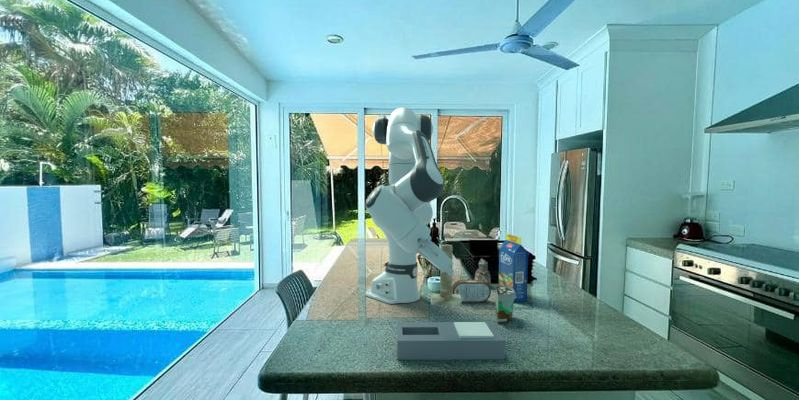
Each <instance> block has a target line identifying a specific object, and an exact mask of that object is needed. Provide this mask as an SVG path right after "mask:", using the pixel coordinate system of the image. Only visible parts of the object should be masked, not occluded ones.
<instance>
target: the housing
mask: <svg viewBox="0 0 799 400" xmlns="http://www.w3.org/2000/svg"><path fill="white" fill-rule="evenodd" d="M505 350H506V340H505V338H504V337H503V335H502V334H501V333H500V331H499V330H498V328H497V327H496V326H495V324H494V322H492V321H433V322H432V321H422V322H421V321H419V322H417V321H415V322H413V321H404V322H403V321H402V322H401V321H399V322H398V321H397V322H396V360H398V361H401V360H402V361H403V360H405V361H409V360H410V361H412V360H414V361H418V360H425V361H426V360H429V361H433V360H435V361H436V360H439V361H440V360H442V361H443V360H447V361H448V360H450V361H451V360H457V361H458V360H505V359H506V358H505V357H506V356H505V355H506V353H505Z"/></svg>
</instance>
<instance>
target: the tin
mask: <svg viewBox="0 0 799 400" xmlns="http://www.w3.org/2000/svg"><path fill="white" fill-rule="evenodd" d="M491 293H492V289H491V287H489V285H488V284H487V283H486V282H485V281H483V280H475V279H458V280H456V281H455V282H454V283H452V294H460V296H461V303H484V302H486V301H488V300H489V299H490V297H491Z"/></svg>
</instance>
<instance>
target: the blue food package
mask: <svg viewBox="0 0 799 400" xmlns="http://www.w3.org/2000/svg"><path fill="white" fill-rule="evenodd" d="M505 235H506V236H505V240H504V241H503V243H502V244H501V245H500V247H499V251H498V285H504V286H508V287H511V288H513V289H514V291H515V294H516V298H515V299H514V303H523V302H527V301H528V270H529V268H528V266H529V259H528V257H529V256H528V251H527V250H526V249H525V247H524V246H523V244H522V237H520V236H517V235H513V234H510V233H508V232H507V233H505Z"/></svg>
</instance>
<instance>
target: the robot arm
mask: <svg viewBox="0 0 799 400" xmlns="http://www.w3.org/2000/svg"><path fill="white" fill-rule="evenodd" d="M433 132H434V126H433V122H432V120H431V117H430V116H428V115H425V114H420V115H419V114H416V113H415V112H414V111H413V110H412V109H411V108H408V107H404V106H402V107H398V108H396V109H394V110H393V111H392V112H391V113H390V115H386V114H383V115H380V116H377V117H376V118H375V119H374V123H373V126H372V135H373V138H374V140H375V141H376V142H377V143H378V144H379V145H386V148H387V150H388V151H389V153H388V183H389V185H384V184H379V185H378V186H376V187H375V188H374V189H373V190H371V192H370V194H369V195H368V196H367V198H366V200H365V204H364V206H365V209H366V212H367V213H368V214H369V216H370V217H371V219H372V222H373V224H374V225H375V227H377V228H379V229H380V230H381V232H382V233H383V234H384V236H385V238H386V241H387V245H388V246H387V247H388V249H387V250H388V261H387V262H385V263H383V264H382V265H383V266H382V268H385V269H384V270H383V272H381V273H379V274H378V275H377V276H376V277H375V278H373V279H372V281H371V286H370V288H369V289H368V290H366V291H365V294H364V296H365V297H368V298H371V299H374V300H377V301H380V302H382V303H386V304H389V305H394V304H395V305H396V304H406V303H407V304H408V303H413V302H416V301H419V300H420V299H421V295H420V289H419V285H418V284H419V283H418V274H419V273H418V271H419V270H418V269H419V268H418V266H419V265H418V264H419V263H418V261H417V260H418V259H417V256H418V255H420V256H421V257H423V258H424V259H426V260H427V261H428V262H429V263H430V264H432V265H433V266H434V267H436V268H437V269H438V270H439V271H440V270H441V271H442V272H446V273H447V274H448V275H449V276H451V275H452V276H453V274H454V273H455V270H454V269H453V265H454V262H453V259H452V260H451V259H450V258H449V257H448V256H447V255H446V254H445V253H444V252H443V251H442V250H441V247H439V246H438V245H437V244H435V242H433V241H432V236H431V232H432V231H431V228H430V227H429V226H428V225H427V224H429V223H430V222H431V221H432V219H433V216H434V215H433V208H432V204H430V202H432V201H434V200H436V199H437V198H439V197H441V196H442V194H443V193H444V187H445V180H444V179H445V178H444V177H443V174H442V172H441V171H440V169H439V167H438V164H437V161H436V158H435V155H434V154H435V153H434V151H433V147H432V144H431V142H430V140H431V138H432V135H433ZM417 254H418V255H417ZM451 266H452V268H451Z"/></svg>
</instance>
